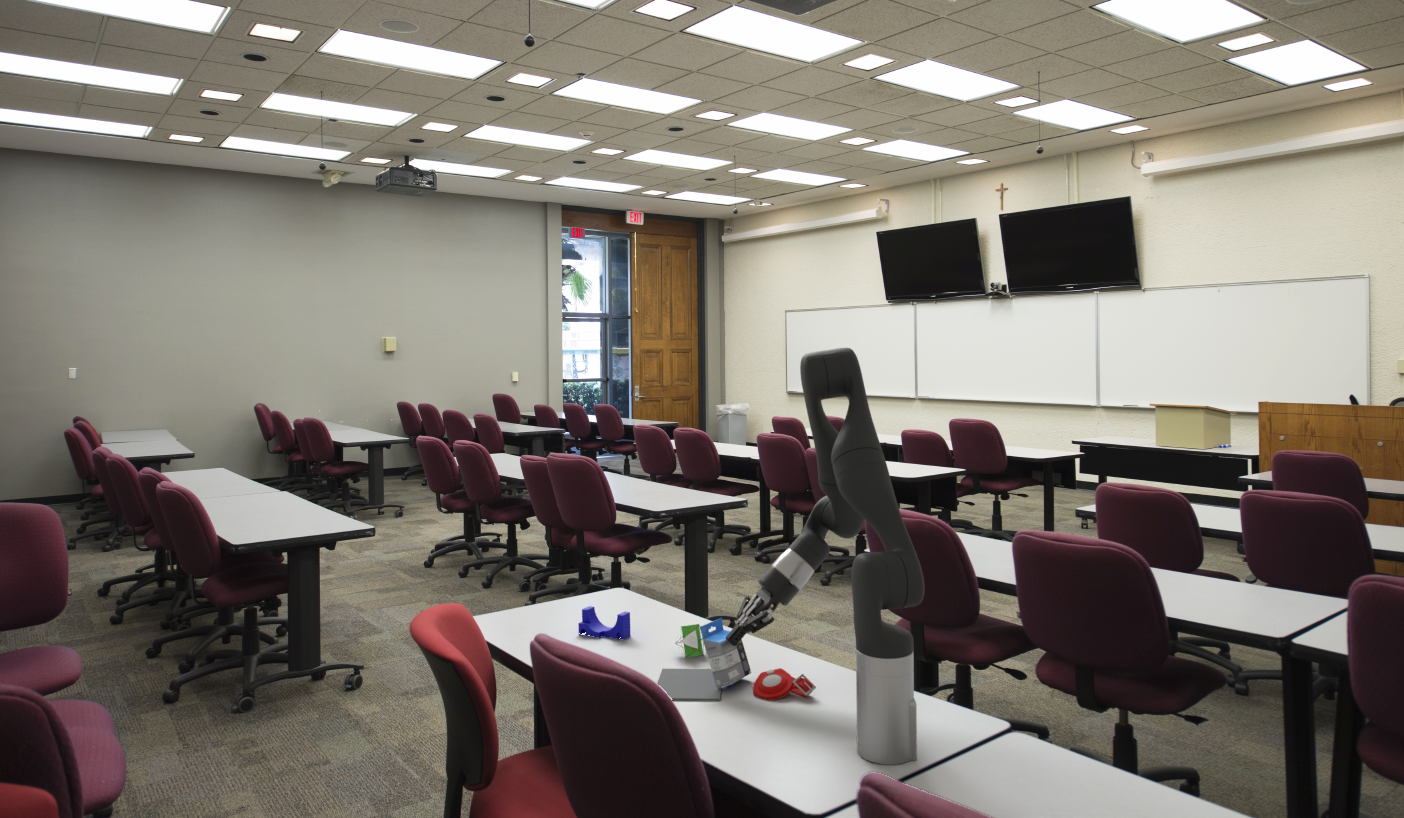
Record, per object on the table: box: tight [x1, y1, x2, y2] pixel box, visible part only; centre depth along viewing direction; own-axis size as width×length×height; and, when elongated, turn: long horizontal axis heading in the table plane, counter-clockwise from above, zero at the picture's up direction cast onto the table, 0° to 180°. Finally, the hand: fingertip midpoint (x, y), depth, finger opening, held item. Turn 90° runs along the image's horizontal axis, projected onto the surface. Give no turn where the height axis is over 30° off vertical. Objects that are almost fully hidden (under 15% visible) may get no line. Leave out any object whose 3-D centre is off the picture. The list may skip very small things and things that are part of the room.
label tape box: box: [699, 617, 752, 688], centre depth 173 cm, size 9×4×12 cm, turn 150°
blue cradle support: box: [578, 605, 631, 640], centre depth 205 cm, size 12×4×6 cm, turn 60°
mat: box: [656, 668, 723, 702], centre depth 172 cm, size 13×16×1 cm
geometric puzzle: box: [674, 623, 705, 659], centre depth 190 cm, size 7×7×8 cm
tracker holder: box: [752, 667, 817, 701], centre depth 168 cm, size 12×4×10 cm
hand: (729, 642), depth 171 cm, fingers closed
